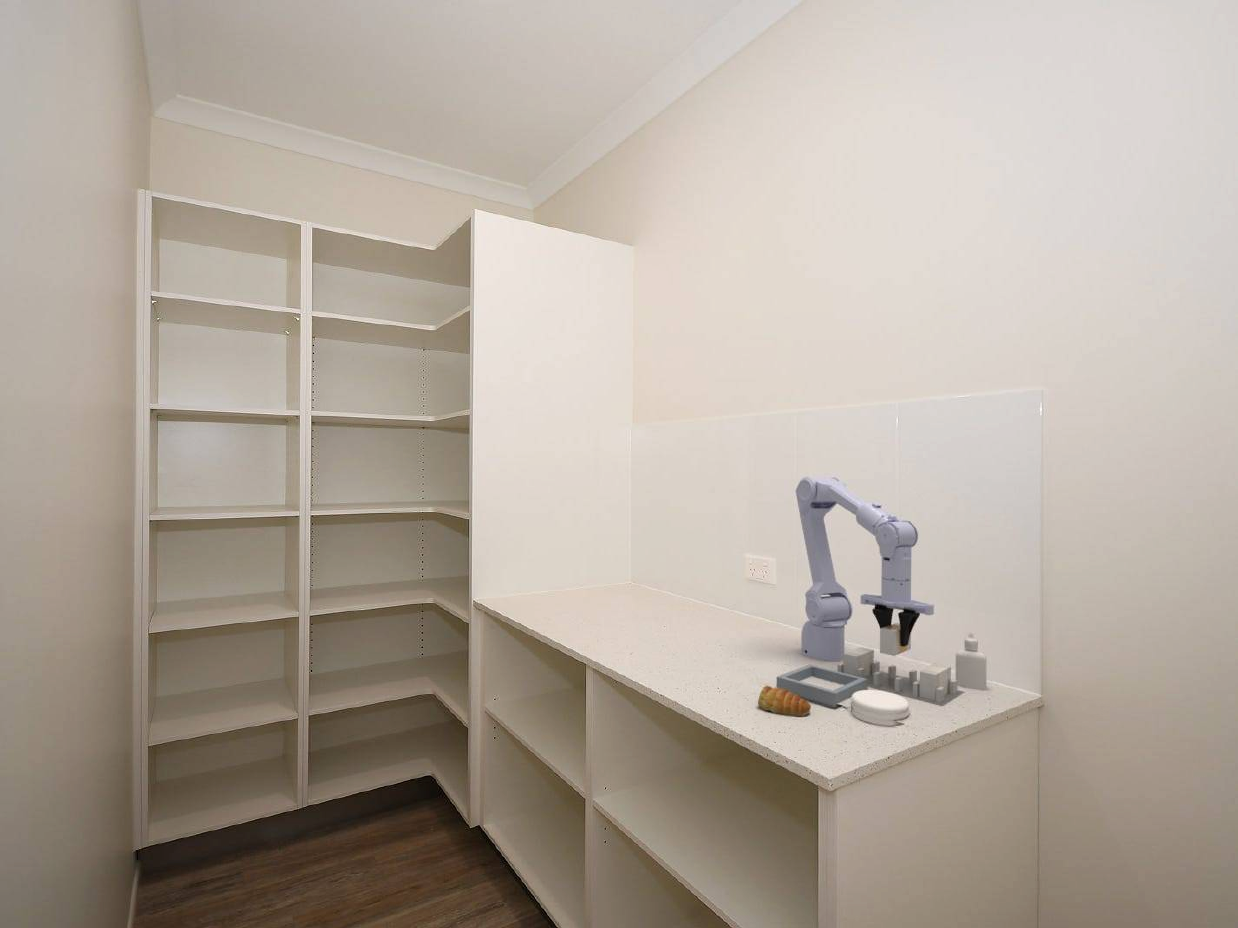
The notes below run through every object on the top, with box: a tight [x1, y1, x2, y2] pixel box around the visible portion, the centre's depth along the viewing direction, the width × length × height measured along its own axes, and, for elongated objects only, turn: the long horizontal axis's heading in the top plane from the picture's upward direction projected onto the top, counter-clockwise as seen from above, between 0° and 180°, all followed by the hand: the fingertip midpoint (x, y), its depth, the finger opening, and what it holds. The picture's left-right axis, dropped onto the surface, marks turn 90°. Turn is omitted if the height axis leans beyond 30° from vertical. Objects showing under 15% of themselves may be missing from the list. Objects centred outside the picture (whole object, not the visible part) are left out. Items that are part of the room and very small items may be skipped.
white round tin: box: [850, 689, 911, 727], centre depth 118 cm, size 10×10×4 cm
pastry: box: [757, 685, 812, 717], centre depth 120 cm, size 9×7×4 cm
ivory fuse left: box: [842, 646, 875, 676], centre depth 139 cm, size 3×8×5 cm, turn 133°
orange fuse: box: [879, 622, 912, 657], centre depth 133 cm, size 3×8×5 cm, turn 133°
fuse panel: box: [836, 660, 965, 707], centre depth 133 cm, size 23×12×4 cm, turn 43°
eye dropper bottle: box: [955, 632, 988, 691], centre depth 132 cm, size 4×6×12 cm
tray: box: [776, 664, 868, 710], centre depth 130 cm, size 13×13×3 cm
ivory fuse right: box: [919, 663, 952, 701], centre depth 127 cm, size 3×8×5 cm, turn 133°
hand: (895, 643), depth 133 cm, fingers closed on orange fuse, 3 cm apart
